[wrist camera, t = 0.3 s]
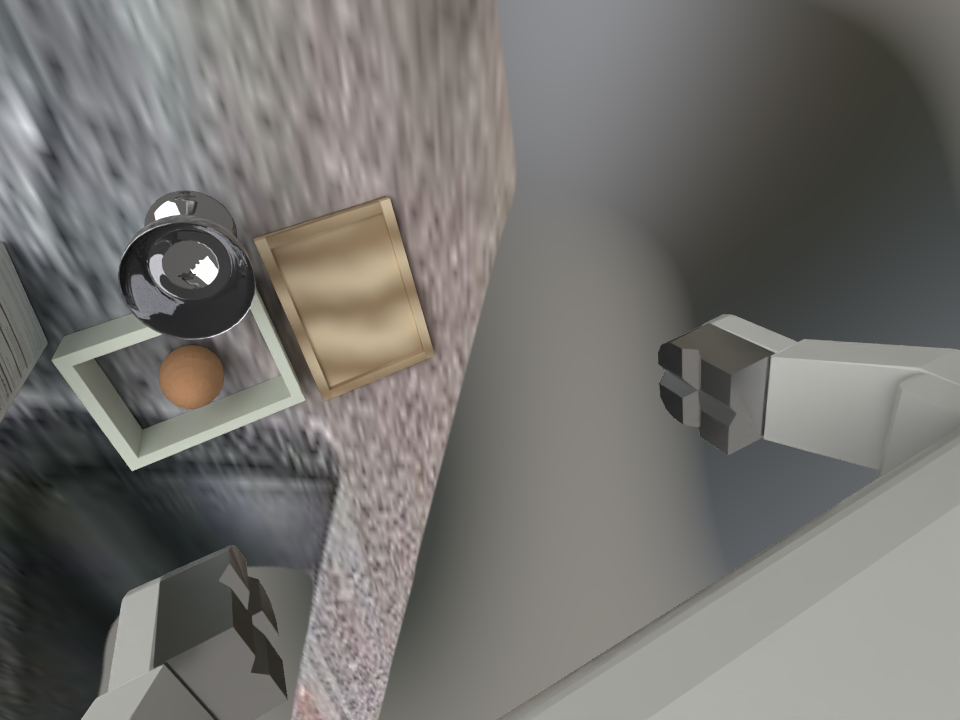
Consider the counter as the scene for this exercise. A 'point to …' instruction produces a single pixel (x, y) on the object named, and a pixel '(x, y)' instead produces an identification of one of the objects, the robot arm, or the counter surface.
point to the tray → (348, 295)
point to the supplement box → (16, 334)
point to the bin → (183, 429)
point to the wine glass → (187, 269)
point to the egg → (191, 376)
